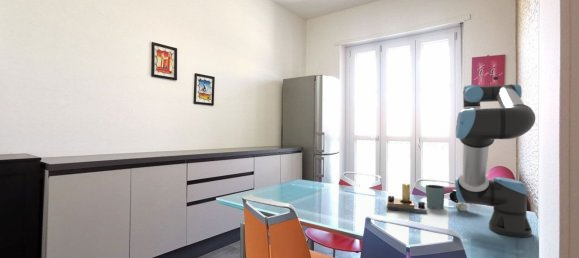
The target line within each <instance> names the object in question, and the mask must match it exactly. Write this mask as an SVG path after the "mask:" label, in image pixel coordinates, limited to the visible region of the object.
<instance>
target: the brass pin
mask: <svg viewBox="0 0 579 258" xmlns="http://www.w3.org/2000/svg"><path fill="white" fill-rule="evenodd" d="M401 187H402V192H401V193H402V194H401V196H402V197H401V199H402V203H409V204H410V200H411V184H409V183H402V186H401Z"/></svg>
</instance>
